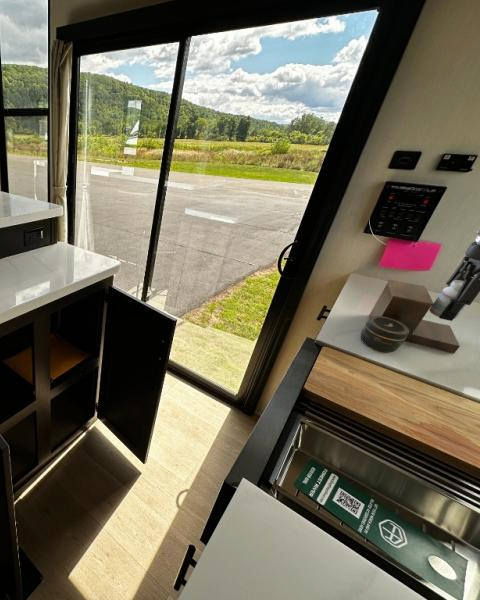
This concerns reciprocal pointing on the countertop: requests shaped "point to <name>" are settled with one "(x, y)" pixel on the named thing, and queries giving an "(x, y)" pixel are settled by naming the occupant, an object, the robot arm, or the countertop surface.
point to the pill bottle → (446, 298)
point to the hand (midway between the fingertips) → (442, 313)
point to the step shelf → (414, 315)
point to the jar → (384, 333)
